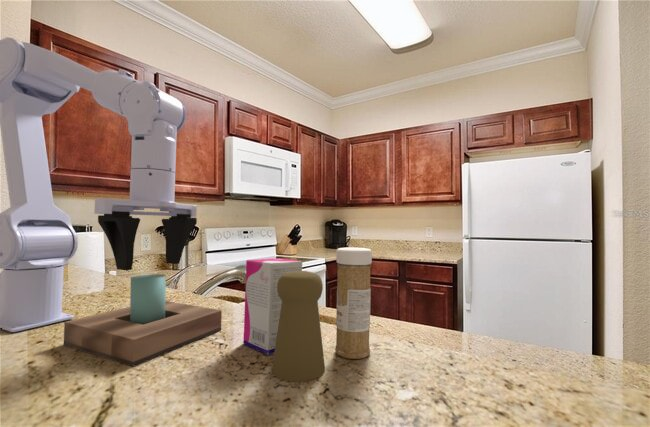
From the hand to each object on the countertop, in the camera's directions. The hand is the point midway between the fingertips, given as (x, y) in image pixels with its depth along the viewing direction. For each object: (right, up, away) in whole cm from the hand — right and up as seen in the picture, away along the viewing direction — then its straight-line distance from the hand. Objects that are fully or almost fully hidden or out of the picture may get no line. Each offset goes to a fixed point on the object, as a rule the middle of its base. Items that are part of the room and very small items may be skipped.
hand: (150, 266), depth 46 cm
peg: (0, -10, 0) cm, 10 cm away
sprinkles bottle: (+29, -11, -5) cm, 31 cm away
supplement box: (+18, -11, -2) cm, 21 cm away
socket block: (0, -10, 0) cm, 10 cm away
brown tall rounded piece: (+22, -10, -10) cm, 26 cm away
